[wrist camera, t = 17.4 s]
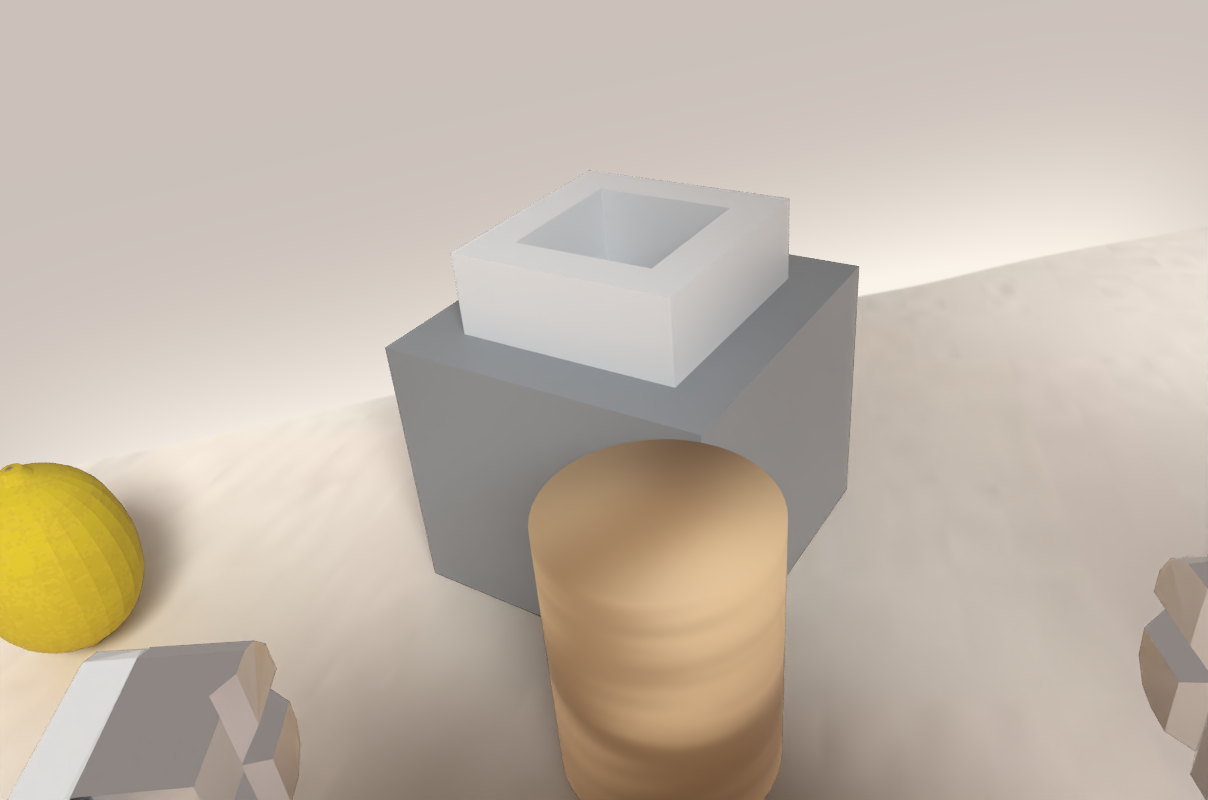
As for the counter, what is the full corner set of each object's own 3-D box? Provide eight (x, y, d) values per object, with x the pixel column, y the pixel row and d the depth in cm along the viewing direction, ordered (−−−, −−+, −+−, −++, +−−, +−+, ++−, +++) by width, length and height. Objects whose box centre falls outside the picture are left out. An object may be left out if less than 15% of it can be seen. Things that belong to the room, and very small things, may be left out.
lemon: (86, 581, 41) (9, 414, 36) (201, 603, 39) (134, 430, 35) (-24, 684, 36) (-126, 508, 32) (100, 714, 35) (9, 531, 30)
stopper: (813, 781, 30) (829, 479, 24) (719, 955, 26) (710, 642, 20) (640, 703, 33) (616, 417, 27) (531, 849, 29) (474, 548, 23)
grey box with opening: (846, 488, 42) (863, 186, 35) (710, 686, 34) (697, 340, 27) (602, 419, 48) (575, 149, 41) (435, 572, 39) (366, 266, 33)
